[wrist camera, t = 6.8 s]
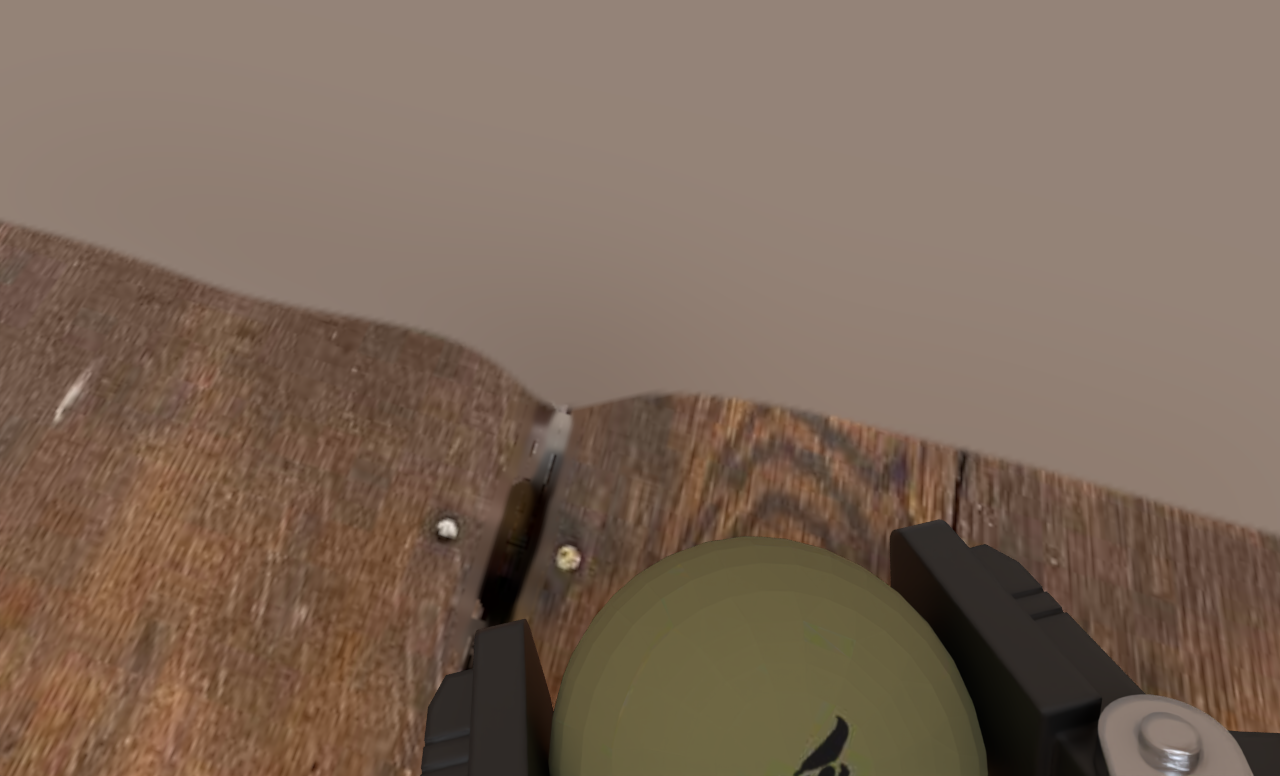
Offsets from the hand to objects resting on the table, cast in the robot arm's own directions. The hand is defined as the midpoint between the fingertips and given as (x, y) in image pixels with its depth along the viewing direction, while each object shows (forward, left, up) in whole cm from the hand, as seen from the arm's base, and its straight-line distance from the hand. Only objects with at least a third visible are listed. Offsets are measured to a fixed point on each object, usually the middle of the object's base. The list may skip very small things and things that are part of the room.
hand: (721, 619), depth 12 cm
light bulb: (0, +2, -6) cm, 7 cm away
